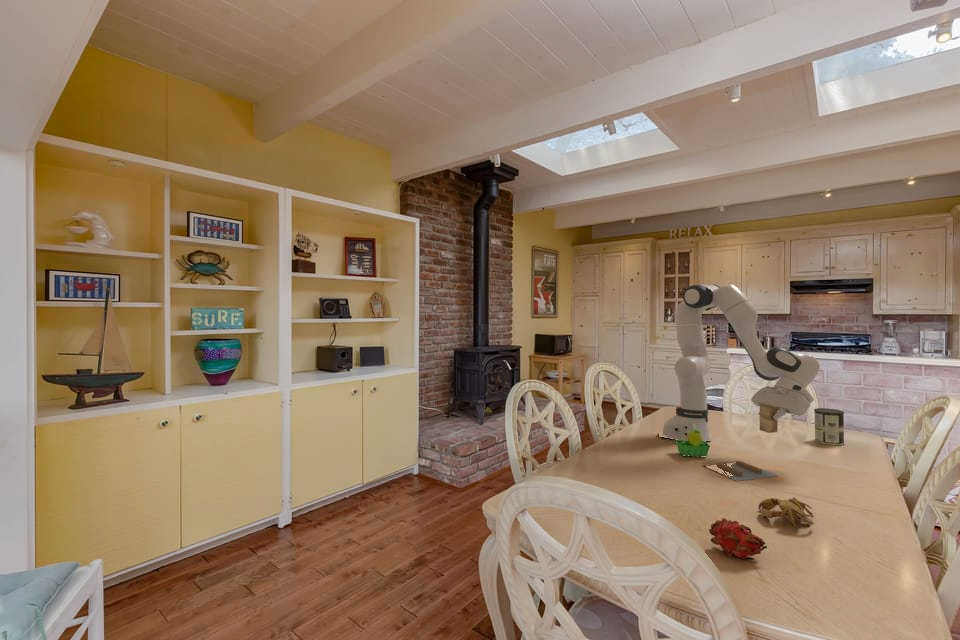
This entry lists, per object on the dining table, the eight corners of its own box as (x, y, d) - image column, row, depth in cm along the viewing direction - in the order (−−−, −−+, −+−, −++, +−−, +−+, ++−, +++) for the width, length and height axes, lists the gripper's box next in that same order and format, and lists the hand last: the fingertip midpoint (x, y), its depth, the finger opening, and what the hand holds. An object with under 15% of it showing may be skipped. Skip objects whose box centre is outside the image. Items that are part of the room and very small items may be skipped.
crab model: (759, 504, 130) (759, 486, 130) (813, 515, 122) (812, 495, 122) (755, 524, 117) (755, 504, 117) (815, 537, 110) (814, 516, 110)
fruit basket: (703, 452, 179) (702, 425, 179) (712, 459, 170) (712, 431, 170) (674, 452, 180) (674, 425, 180) (682, 459, 171) (682, 430, 171)
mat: (741, 461, 167) (741, 457, 167) (778, 476, 151) (778, 471, 151) (701, 465, 163) (701, 461, 163) (736, 481, 147) (736, 476, 147)
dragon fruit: (705, 550, 107) (762, 574, 100) (703, 543, 101) (763, 567, 94) (713, 516, 110) (768, 537, 103) (711, 507, 105) (770, 529, 97)
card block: (768, 429, 165) (768, 403, 165) (777, 432, 162) (777, 405, 161) (759, 430, 164) (759, 404, 164) (768, 432, 161) (768, 406, 160)
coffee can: (831, 438, 195) (831, 407, 195) (850, 445, 185) (850, 412, 185) (808, 439, 196) (808, 408, 196) (826, 445, 185) (826, 413, 185)
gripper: (759, 380, 174) (739, 405, 172) (809, 389, 155) (787, 417, 152) (768, 391, 176) (748, 416, 173) (818, 400, 156) (797, 429, 154)
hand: (767, 417), depth 163 cm, fingers closed on card block, 4 cm apart
